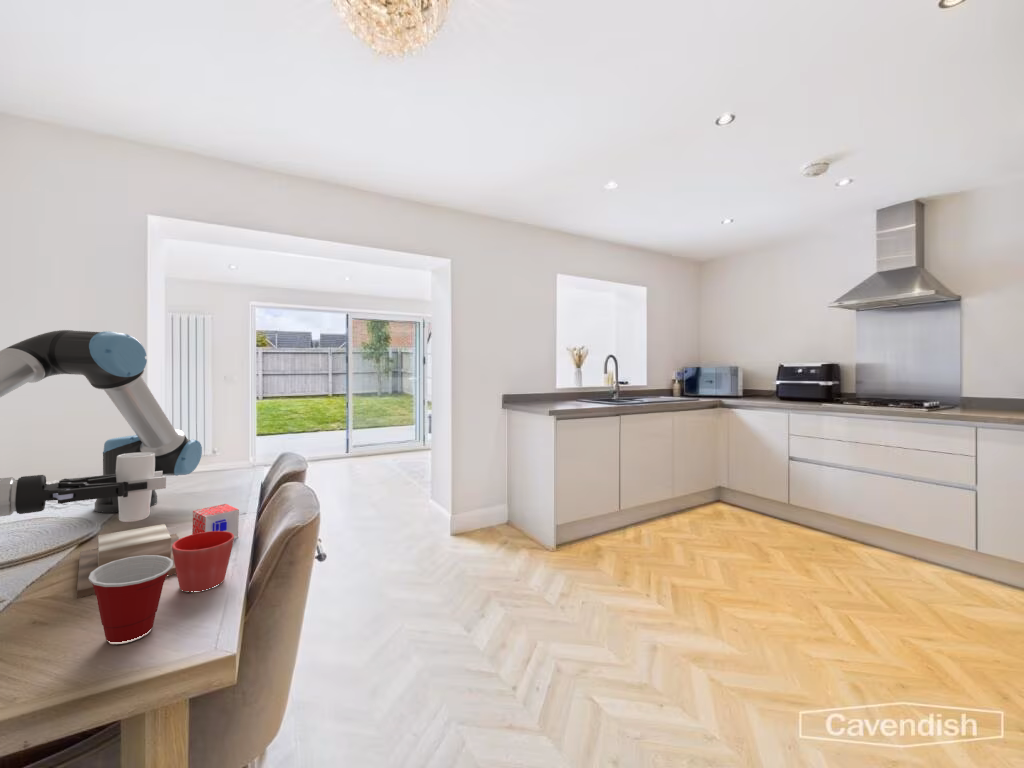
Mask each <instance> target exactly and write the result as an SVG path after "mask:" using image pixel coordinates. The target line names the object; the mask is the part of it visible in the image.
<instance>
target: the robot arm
mask: <svg viewBox="0 0 1024 768" xmlns="http://www.w3.org/2000/svg"><path fill="white" fill-rule="evenodd" d="M146 357H147V352H146V349H145V347H144V346H143V344H142V343H141V342H140V341H139V340H138V339H137V338H136V337H134V336H132V335H130V334H127V333H123V332H116V331H109V330H108V331H107V330H106V331H104V330H103V331H88V330H87V331H85V330H71V329H70V330H69V329H68V330H67V329H62V330H61V329H60V330H53V331H47V332H44V333H41V334H38V335H35V336H32V337H30V338H26V339H24V340H21V341H19V342H17V343H13V344H12V345H9V346H8V347H6V348H3V349H1V350H0V398H2V397H4V396H6V395H8V394H10V393H11V392H13V391H14V390H16V389H18V388H20V387H22V386H23V385H25V384H28V383H31V384H32V383H33V384H34V383H38V382H40V381H42V380H43V379H46V378H47V377H48V378H49V377H52V376H57V375H59V376H60V375H76V376H78V375H80V376H84V377H85V378H86V380H87V381H88V383H89V384H90V385H91V386H92V387H93V388H95V389H98V390H101V391H102V390H103V391H104V392H105V393H106V394H107V396H108V397H109V399H110V400H111V402H112V403H113V405H114V406H115V407H116V408H117V410H118V412H119V413H120V414H121V415H122V417H123V418H124V420H125V421H126V422H127V424H128V425H129V427H130V428H131V430H132V431H133V432H134V433H135V434H134V435H127V436H126V435H125V436H119V437H113V438H109V439H107V440H106V441H105V442H104V444H103V445H104V446H103V451H102V475H93V476H84V477H75V478H63V479H61V480H58V482H54V483H48V484H47V477H46V475H44V474H37V475H24V476H21V477H19V478H18V479H15V478H14V477H12V476H11V477H1V478H0V517H6V516H7V517H8V516H11V515H12V514H13V513H14V512H16V514H19V515H24V514H31V513H38V512H43V511H44V509H45V508H46V502H48V501H50V502H51V501H52V502H53V501H57V504H61V505H63V504H66V503H73V502H80V501H88V500H89V501H91V500H95V502H94V511H95V512H96V513H100V512H101V513H102V514H103V513H104V514H110V513H111V514H113V513H119V506H118V496H119V497H121V496H123V497H128V493H132V492H140V491H149V490H152V495H151V502H150V507H151V506H154V505H156V504H157V503H158V494H157V491H156V490H163V489H165V490H166V488H167V476H175V477H178V476H186V475H190V474H191V473H193V472H194V471H196V469H197V467H198V465H200V461H201V459H202V454H203V447H202V444H201V442H200V441H199V440H196V439H193V438H192V439H188V438H187V436H186V434H185V433H184V431H182V430H181V429H178V428H174V426H173V424H172V423H171V421H170V420H169V418H168V417H167V415H166V413H165V411H164V410H163V409H162V407H161V406H160V404H159V402H158V401H157V399H156V398H155V396H154V394H153V393H152V391H151V389H150V388H149V387H148V385H147V384H146V382H145V380H144V378H143V377H142V376H143V374H144V372H145V368H146V366H147V363H148V359H147V358H146ZM139 452H150V453H155V473H154V478H146V479H136V480H128V482H116V460H117V456H118V455H121V454H128V453H139ZM155 503H156V504H155ZM101 513H100V514H101Z"/></svg>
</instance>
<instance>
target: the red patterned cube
mask: <svg viewBox="0 0 1024 768" xmlns="http://www.w3.org/2000/svg"><path fill="white" fill-rule="evenodd" d="M239 519H240V509H239V508H237V507H235V506H232V505H229V504H227V503H224V504H219V505H214V506H209V507H203V508H199V509H195V510H192V532H191V533H192V534H191V535H193V534H197V533H202V532H209V531H226V532H231V533H232V534H233V535H234V539H237V538H239V521H240V520H239Z"/></svg>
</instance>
